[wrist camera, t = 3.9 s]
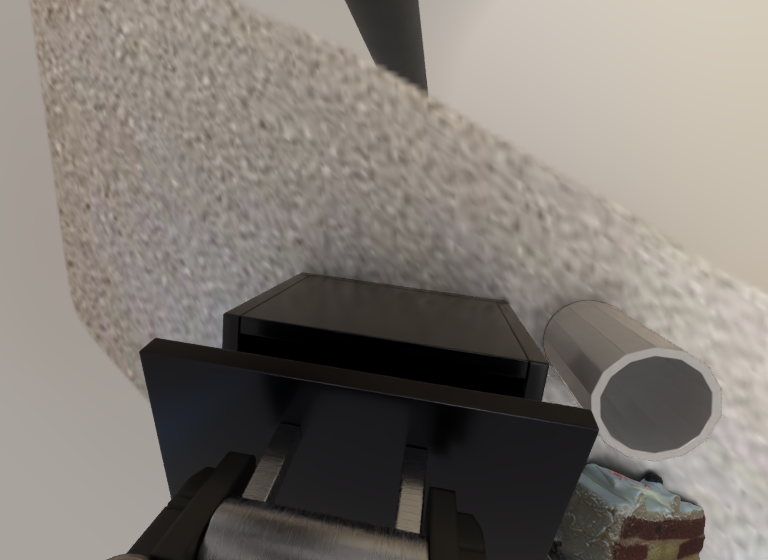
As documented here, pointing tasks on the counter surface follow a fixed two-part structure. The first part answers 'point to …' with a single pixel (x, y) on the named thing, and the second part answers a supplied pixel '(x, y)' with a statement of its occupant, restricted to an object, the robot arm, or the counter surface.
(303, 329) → the black hollow box
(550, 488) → the black box lid
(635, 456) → the cup
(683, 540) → the checkered cake slice
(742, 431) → the counter surface
